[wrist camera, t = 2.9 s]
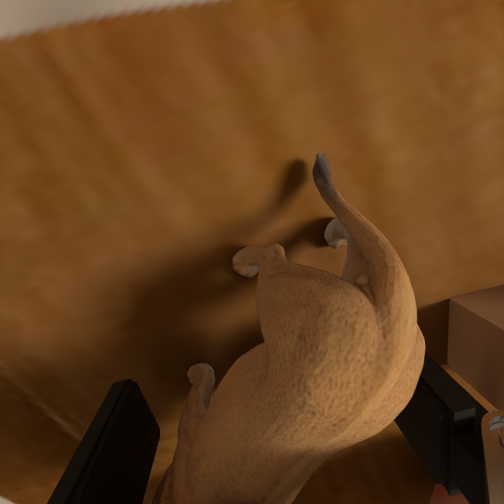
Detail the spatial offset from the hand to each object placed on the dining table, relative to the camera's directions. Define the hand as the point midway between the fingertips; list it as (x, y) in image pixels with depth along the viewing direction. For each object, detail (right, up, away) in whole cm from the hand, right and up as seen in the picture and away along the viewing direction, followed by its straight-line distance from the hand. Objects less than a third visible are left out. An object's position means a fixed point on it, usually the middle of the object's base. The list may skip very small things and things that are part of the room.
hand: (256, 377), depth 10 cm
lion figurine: (0, +1, +2) cm, 2 cm away
